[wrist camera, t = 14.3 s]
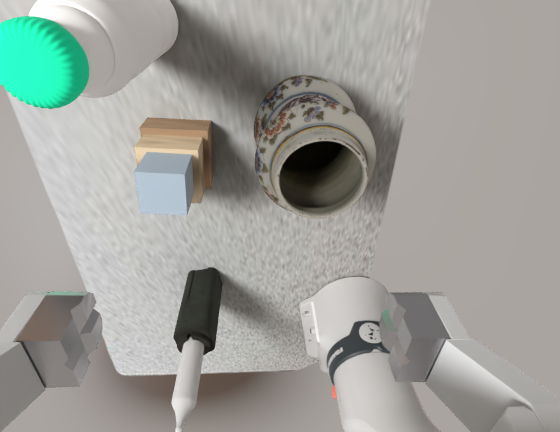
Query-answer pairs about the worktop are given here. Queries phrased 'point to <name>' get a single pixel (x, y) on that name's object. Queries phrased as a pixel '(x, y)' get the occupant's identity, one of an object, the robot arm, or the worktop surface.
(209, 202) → the worktop surface
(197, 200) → the top block
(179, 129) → the bottom block
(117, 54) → the water bottle
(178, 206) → the blue cube
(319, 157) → the apothecary jar
